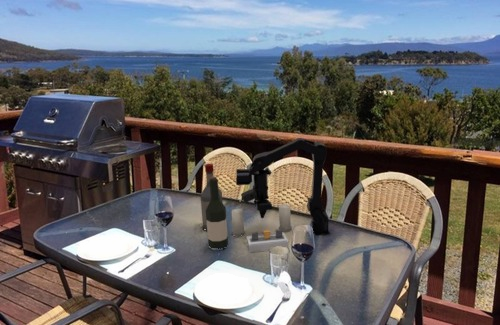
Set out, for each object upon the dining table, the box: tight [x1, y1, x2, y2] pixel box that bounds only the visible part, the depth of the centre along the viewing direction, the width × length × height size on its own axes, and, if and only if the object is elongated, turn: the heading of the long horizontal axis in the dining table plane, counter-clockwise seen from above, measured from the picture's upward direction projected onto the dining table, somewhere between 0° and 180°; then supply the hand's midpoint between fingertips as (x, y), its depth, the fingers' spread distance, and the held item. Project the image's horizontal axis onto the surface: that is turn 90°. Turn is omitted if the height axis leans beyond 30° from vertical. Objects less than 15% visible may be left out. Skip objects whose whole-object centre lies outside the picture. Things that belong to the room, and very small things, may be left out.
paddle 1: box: [251, 230, 259, 240], centre depth 173 cm, size 2×1×3 cm, turn 97°
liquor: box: [200, 163, 224, 231], centre depth 191 cm, size 9×9×30 cm
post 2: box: [278, 203, 293, 233], centre depth 188 cm, size 6×6×11 cm
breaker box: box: [246, 232, 290, 253], centre depth 174 cm, size 16×9×3 cm, turn 97°
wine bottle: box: [206, 176, 229, 249], centre depth 172 cm, size 8×8×30 cm
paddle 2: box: [275, 228, 282, 238], centre depth 174 cm, size 2×1×3 cm, turn 98°
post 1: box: [231, 208, 246, 237], centre depth 186 cm, size 6×6×11 cm
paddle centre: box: [263, 229, 271, 239], centre depth 173 cm, size 2×1×3 cm, turn 97°
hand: (262, 218), depth 184 cm, fingers closed
